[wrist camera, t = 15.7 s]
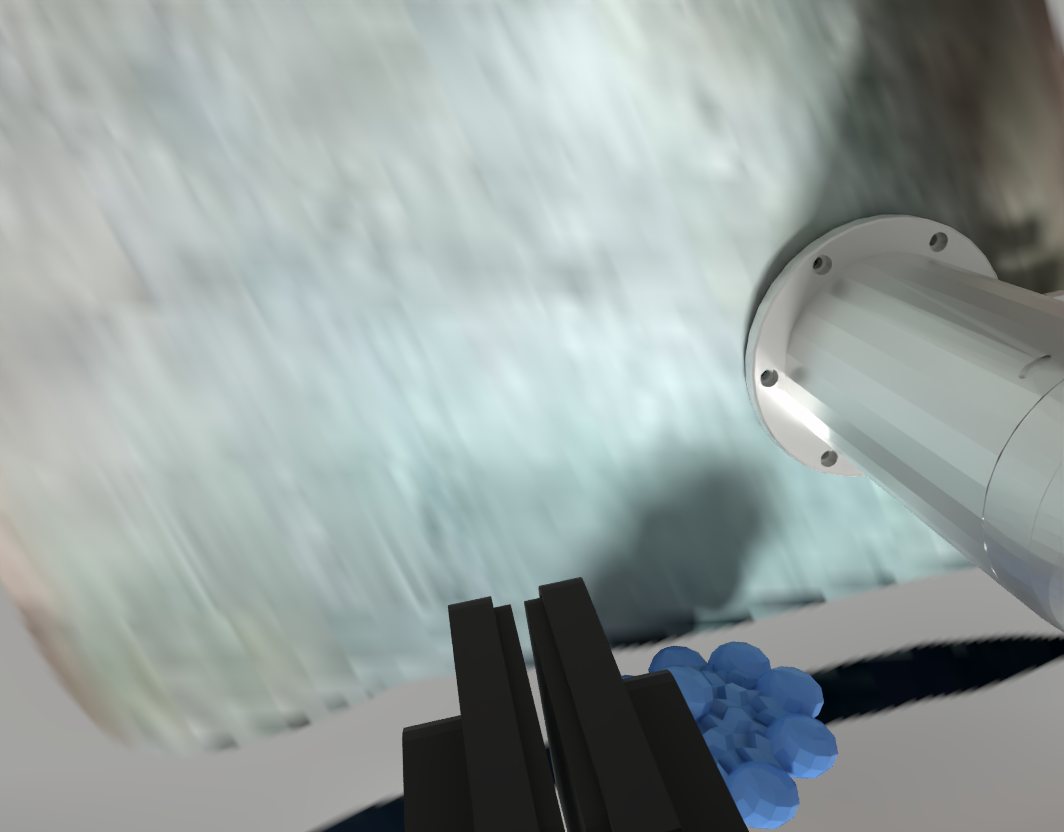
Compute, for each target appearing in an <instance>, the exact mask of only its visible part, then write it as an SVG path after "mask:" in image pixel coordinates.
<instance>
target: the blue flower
mask: <svg viewBox="0 0 1064 832" xmlns="http://www.w3.org/2000/svg"><path fill="white" fill-rule="evenodd" d="M665 669H668V670H669V671H670V672H671V673H672V675H673V676H674V678H675V680H676V682H677V684H678V686H679V688H680V690H681V692H682V694H683V696H684V698H685V700H686V703H687V705H688V707H689V709H690V711H691V713H692V715H693V717H694V719H695V721H696V723H697V725H698V727H699V729H700V731H701V734H702V736H703V738H704V740H705V742H706V744H707V746H708V748H709V750H710V752H711V754H712V756H713V758H714V760H715V762H716V765H717V767H718V769H719V771H720V773H721V775H722V777H723V779H724V781H725V783H726V785H727V787H728V789H729V791H730V793H731V795H732V798H733V800H734V802H735V804H736V806H737V808H738V810H739V812H740V814H741V816H742V818H743V820H744V822H745V824H746V825H748V826H750V827H752V828H766V829H776V828H777V827H780V826H781V825H783V824H785V823H786V822H788V821H789V820H790V819H792V818H793V817H794V815H795V813H796V811H797V808H798V806H799V797H798V791H797V786H796V784H795V782H794V781H793V780H792V778H806V779H807V778H815V777H817V776H819V775H821V774H823V773H824V772H825V771H827V770H828V769H830V768H831V767H832V766H833V764H834V762H835V759H836V757H837V754H838V751H837V745H836V740H835V737H834V736H833V735H832V733H831V732H830V731H829V730H828V729H827V727H826V726H825V725H824V724H823V723H822V722H821V721H819V720H816V719H814V718H815V717H816V716H817V715H818V714H819V712H820V710H821V707H822V705H823V702H824V701H823V695H822V690H821V687H820V686H819V685H818V684H817V683H816V681H815V680H814V679H813V678H812V677H811V676H810V675H809V674H808V673H805V672H803V671H801V670H799V669H796V668H794V667H777V668H774V669H771V667H770V662H769V659H768V658H767V657H766V656H765V655H764V654H763V653H762V651H761V650H760V649H759V648H757V647H754V646H752V645H750V644H747V643H744V642H730V643H726V644H723V645H720V646H719V647H718V648H717V649H716V650H715V651H714V652H712V654H711V656H710V659H709V661H708V663H707V662H706V661H705V660H704V659H703V658H702V657H701V656H700V654H699V653H698V652H696V651H694V650H691V649H689V648H687V647H680V646H671V647H667V648H664V649H662V650H660V651H659V652H658V653H657V654H656V655H655V656H654V658H653V660H652V662H651V665H650V667H649V669H648V670H649V673H652V672H656V671H661V670H665ZM621 677H622V679H625V678H629V677H634V676H630V675H624V676H621Z"/></svg>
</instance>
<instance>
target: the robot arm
mask: <svg viewBox="0 0 1064 832" xmlns="http://www.w3.org/2000/svg"><path fill="white" fill-rule="evenodd" d="M930 239H931V241H930ZM817 258H818V263H817V264H816V265H815V266H813V264H814V261H815V260H816V259H817ZM745 364H746V384H747V389H748V393H749V397H750V402H751V405H752V407H753V409H754V412H755V414H756V416H757V418H758V420H759V422H760V424H761V426H762V427H763V428H764V429H765V431H766V432H767V433H768V435H769V436H770V437H771V439H772V440H773V441H774V442H775V443H776V444H777V445H778V446H780V447H781V448H782V449H783V450H784V451H785V452H786V453H787V454H788V455H790V456H791V457H793V458H794V459H796V460H797V461H799V462H800V463H802V464H803V465H805V466H807V467H809V468H812V469H814V470H817V471H819V472H822V473H825V474H831V475H837V476H844V477H862V476H867V477H869V478H870V479H871V480H872V481H873V482H875V483H876V484H877V485H878V486H880V487H881V488H882V489H883V490H884V491H886V492H887V493H888V494H889V495H891V496H892V497H893V498H894V499H896V500H897V501H898V502H899V503H900V504H902V505H903V506H904V507H905V508H907V509H908V510H909V511H910V512H911V513H913V514H914V515H915V516H916V517H918V518H919V519H920V520H921V521H922V522H924V523H925V524H926V525H927V526H929V527H930V528H931V529H932V530H933V531H935V532H936V533H937V534H938V535H940V536H941V537H942V538H943V539H945V540H946V541H947V542H948V543H949V544H951V545H952V546H953V547H954V548H956V549H957V550H958V551H959V552H960V553H962V554H963V555H964V556H965V557H967V558H968V559H969V560H970V561H971V562H973V563H974V564H975V565H976V566H978V567H979V568H980V569H981V570H982V571H984V572H985V573H986V574H987V575H989V576H990V577H991V578H992V579H994V580H995V581H996V582H997V583H998V584H1000V585H1001V586H1002V587H1003V588H1005V589H1006V590H1007V591H1008V592H1010V593H1011V594H1012V595H1014V596H1015V597H1016V598H1017V599H1019V600H1020V601H1021V602H1022V603H1024V604H1025V605H1026V606H1028V607H1029V608H1030V609H1031V610H1032V611H1034V612H1035V613H1036V614H1038V615H1039V616H1040V617H1041V618H1042V619H1044V620H1045V621H1047V622H1049V623H1050V624H1051V625H1053V626H1054V627H1056V628H1057V629H1059V630H1061V631H1062V632H1064V290H1059V291H1054V292H1049V293H1045V294H1040V293H1037V292H1033V291H1030V290H1027V289H1024V288H1021V287H1018V286H1015V285H1012V284H1009V283H1006V282H1003V281H1000V280H998V277H997V275H996V273H995V271H994V269H993V268H992V266H991V264H990V262H989V261H988V259H987V257H986V256H985V255H984V254H983V252H982V251H981V250H980V249H979V248H978V247H977V246H976V245H975V244H974V243H973V242H972V241H971V240H970V239H969V238H967V237H966V236H964V235H963V234H961V233H960V232H958V231H956V230H955V229H953V228H952V227H949V226H947V225H944V224H941V223H938V222H935V221H933V220H930V219H926V218H921V217H916V216H911V215H896V214H882V215H877V216H872V217H867V218H862V219H857V220H855V221H852V222H850V223H847V224H845V225H842V226H840V227H837V228H835V229H832V230H831V231H829V232H828V233H826V234H824V235H823V236H821V237H820V238H818V239H816V240H815V241H813V242H812V243H810V244H809V245H808V246H807V247H805V248H804V249H803V250H802V251H801V252H800V253H799V254H798V255H796V256H795V257H794V258H793V259H792V260H791V261H790V262H789V263H788V264H787V265H786V266H785V268H784V269H783V270H782V271H781V273H780V274H779V275H778V276H777V278H776V279H775V280H774V281H773V283H772V284H771V286H770V288H769V289H768V291H767V293H766V295H765V296H764V298H763V300H762V302H761V304H760V305H759V307H758V310H757V313H756V315H755V318H754V321H753V324H752V327H751V329H750V332H749V338H748V344H747V350H746V356H745ZM764 371H766V373H765V375H764V376H762V377H761V375H762V373H763V372H764ZM539 596H540V598H537V599H532V600H528V601H524V605H525V611H526V617H527V623H528V629H529V634H530V640H531V646H532V651H533V657H534V663H535V668H536V674H537V680H538V685H539V691H540V696H541V702H542V708H543V714H544V720H545V725H546V731H547V737H548V742H549V748H550V754H551V759H552V765H553V771H554V776H555V781H556V786H557V790H558V795H559V799H560V804H561V808H562V812H563V816H564V820H565V824H566V828H567V832H749V831H748V829H747V827H746V824H745V822H744V820H743V818H742V816H741V814H740V812H739V810H738V808H737V806H736V804H735V802H734V800H733V798H732V795H731V793H730V791H729V789H728V787H727V785H726V783H725V781H724V779H723V777H722V775H721V773H720V771H719V769H718V767H717V765H716V762H715V760H714V758H713V756H712V754H711V752H710V750H709V748H708V746H707V744H706V742H705V740H704V738H703V736H702V734H701V731H700V729H699V727H698V725H697V723H696V721H695V719H694V717H693V715H692V713H691V711H690V709H689V707H688V705H687V703H686V700H685V698H684V696H683V694H682V692H681V690H680V688H679V686H678V684H677V682H676V680H675V678H674V676H673V675H672V673H671V672H670V671H669V670H668V669H665V670H661V671H656V672H652V673H647V674H643V675H639V676H634V677H629V678H625V679H622V677H621V674H620V672H619V669H618V667H617V664H616V662H615V659H614V656H613V654H612V651H611V649H610V646H609V644H608V641H607V639H606V636H605V634H604V631H603V629H602V626H601V624H600V621H599V619H598V616H597V614H596V611H595V609H594V606H593V604H592V601H591V598H590V596H589V593H588V591H587V588H586V586H585V583H584V581H583V579H582V578H581V577H579V578H574V579H570V580H565V581H560V582H556V583H551V584H546V585H541V586H539ZM448 612H449V620H450V628H451V637H452V645H453V653H454V662H455V670H456V678H457V686H458V695H459V703H460V711H461V715H459V716H455V717H451V718H446V719H441V720H437V721H432V722H428V723H424V724H420V725H415V726H411V727H406V728H404V729H403V736H402V747H403V782H404V819H405V832H565V829H564V825H563V821H562V817H561V812H560V808H559V804H558V800H557V796H556V791H555V787H554V783H553V779H552V775H551V771H550V766H549V762H548V758H547V754H546V750H545V746H544V741H543V737H542V734H541V729H540V725H539V721H538V717H537V712H536V708H535V704H534V700H533V696H532V692H531V688H530V683H529V679H528V675H527V671H526V667H525V662H524V658H523V654H522V650H521V646H520V642H519V637H518V633H517V629H516V625H515V621H514V617H513V612H512V608H511V605H510V604H509V605H504V606H500V607H495V608H493V603H492V599H491V596H490V597H485V598H480V599H475V600H471V601H466V602H461V603H457V604H452V605H448Z"/></svg>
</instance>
